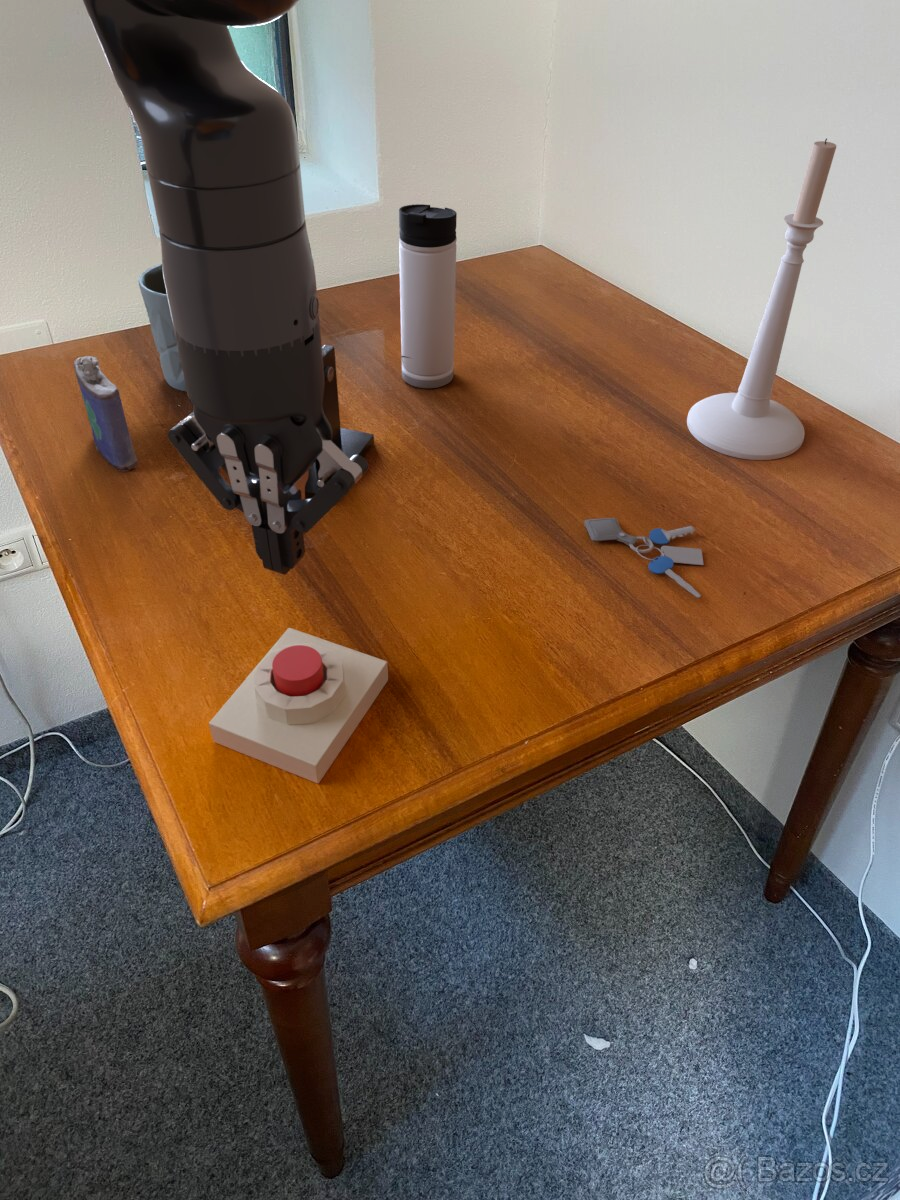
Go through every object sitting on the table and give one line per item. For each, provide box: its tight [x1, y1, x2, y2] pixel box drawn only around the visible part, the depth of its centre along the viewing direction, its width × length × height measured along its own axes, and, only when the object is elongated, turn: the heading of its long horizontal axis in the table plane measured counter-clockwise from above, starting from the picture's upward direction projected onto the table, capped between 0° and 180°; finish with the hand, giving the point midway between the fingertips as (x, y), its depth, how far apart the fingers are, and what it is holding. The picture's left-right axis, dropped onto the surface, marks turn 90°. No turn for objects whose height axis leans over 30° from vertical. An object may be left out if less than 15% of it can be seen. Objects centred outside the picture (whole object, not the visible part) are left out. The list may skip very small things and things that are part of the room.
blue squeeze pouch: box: [73, 355, 138, 472], centre depth 89 cm, size 9×3×11 cm, turn 33°
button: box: [272, 645, 324, 697], centre depth 64 cm, size 4×4×2 cm
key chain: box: [583, 517, 705, 599], centre depth 82 cm, size 14×8×1 cm, turn 46°
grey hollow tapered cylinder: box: [137, 263, 187, 393], centre depth 101 cm, size 10×10×12 cm
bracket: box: [305, 344, 375, 499], centre depth 88 cm, size 12×9×13 cm
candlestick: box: [686, 138, 837, 461], centre depth 89 cm, size 13×13×30 cm
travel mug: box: [398, 203, 458, 389], centre depth 99 cm, size 6×7×20 cm
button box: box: [208, 627, 389, 784], centre depth 66 cm, size 11×9×4 cm
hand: (283, 564), depth 57 cm, fingers closed
